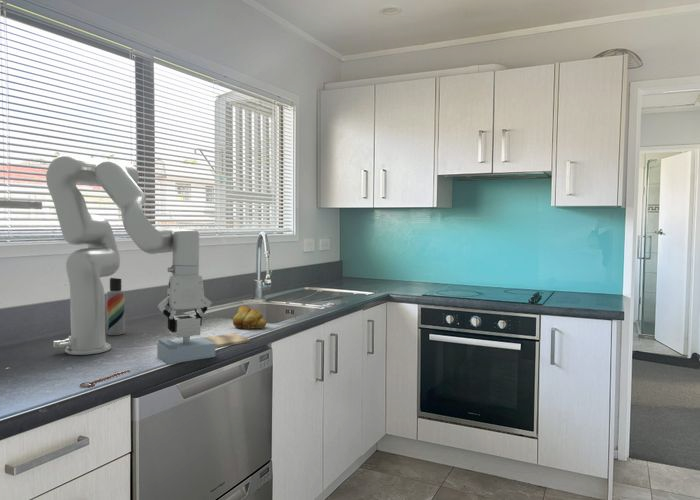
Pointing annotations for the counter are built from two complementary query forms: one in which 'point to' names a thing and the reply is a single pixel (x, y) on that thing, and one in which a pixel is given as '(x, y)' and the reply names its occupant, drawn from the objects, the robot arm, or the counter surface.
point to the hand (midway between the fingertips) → (184, 329)
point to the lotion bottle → (115, 308)
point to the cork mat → (227, 339)
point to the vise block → (185, 349)
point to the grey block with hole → (186, 326)
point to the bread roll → (248, 318)
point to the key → (102, 379)
